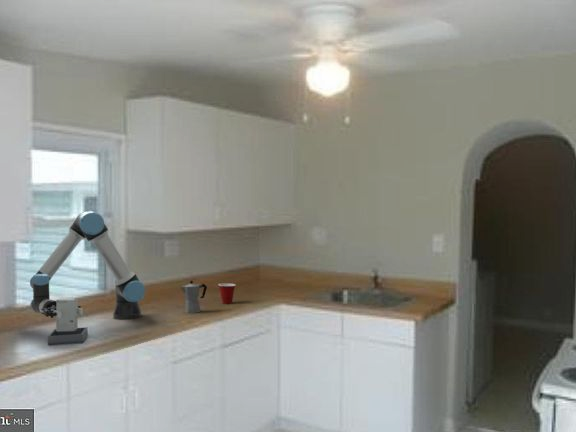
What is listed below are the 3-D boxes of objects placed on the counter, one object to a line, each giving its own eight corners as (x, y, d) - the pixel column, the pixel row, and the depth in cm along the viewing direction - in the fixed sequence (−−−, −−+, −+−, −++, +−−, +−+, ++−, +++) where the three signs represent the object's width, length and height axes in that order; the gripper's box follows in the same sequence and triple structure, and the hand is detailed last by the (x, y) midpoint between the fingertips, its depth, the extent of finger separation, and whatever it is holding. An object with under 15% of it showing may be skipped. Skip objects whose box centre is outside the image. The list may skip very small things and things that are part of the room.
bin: (87, 335, 279) (87, 327, 279) (83, 342, 264) (82, 334, 264) (54, 337, 276) (54, 329, 276) (47, 345, 261) (47, 336, 261)
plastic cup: (238, 303, 353) (238, 284, 352) (221, 305, 349) (220, 285, 348) (233, 301, 363) (233, 282, 362) (216, 302, 359) (216, 283, 358)
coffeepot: (182, 314, 325) (181, 282, 324) (179, 311, 334) (178, 280, 333) (209, 311, 330) (208, 280, 330) (205, 308, 339) (204, 278, 339)
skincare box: (56, 331, 267) (54, 300, 267) (61, 329, 273) (60, 297, 273) (74, 331, 267) (72, 299, 267) (78, 328, 273) (77, 297, 273)
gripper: (72, 311, 290) (94, 317, 275) (27, 319, 274) (48, 325, 259) (71, 297, 290) (93, 301, 275) (27, 303, 274) (47, 308, 259)
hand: (71, 313), depth 267 cm, fingers closed on skincare box, 9 cm apart
